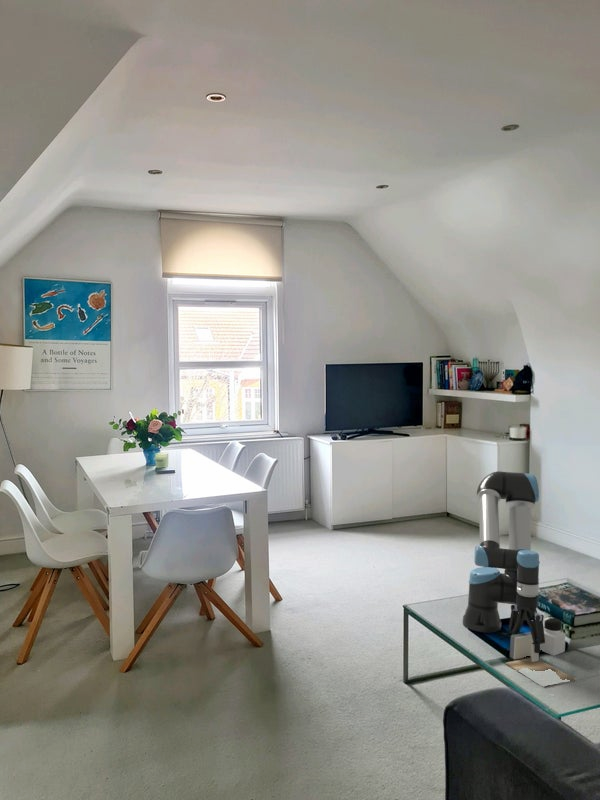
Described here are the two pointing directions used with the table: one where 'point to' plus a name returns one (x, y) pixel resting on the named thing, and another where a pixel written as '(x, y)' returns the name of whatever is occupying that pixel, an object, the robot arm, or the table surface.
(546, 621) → the medicine bottle
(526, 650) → the tile
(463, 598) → the table surface
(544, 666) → the mat
